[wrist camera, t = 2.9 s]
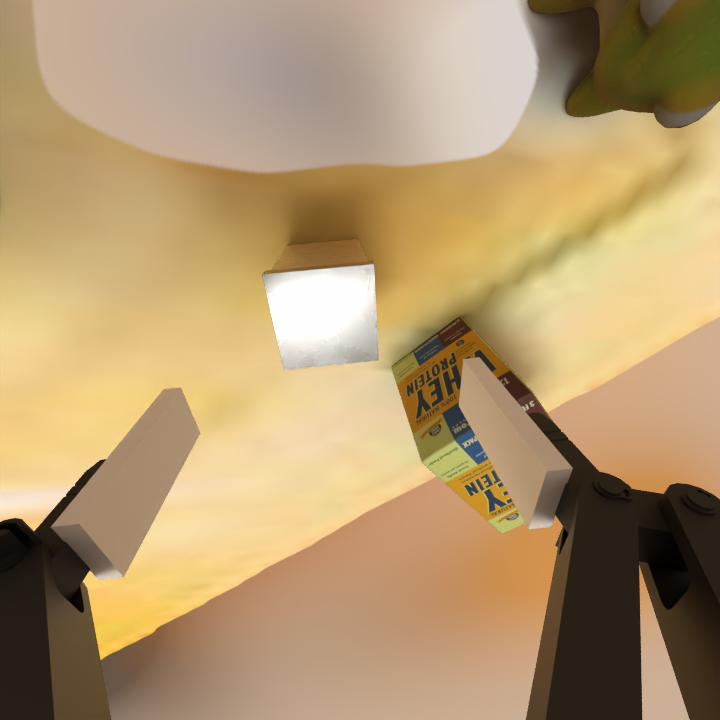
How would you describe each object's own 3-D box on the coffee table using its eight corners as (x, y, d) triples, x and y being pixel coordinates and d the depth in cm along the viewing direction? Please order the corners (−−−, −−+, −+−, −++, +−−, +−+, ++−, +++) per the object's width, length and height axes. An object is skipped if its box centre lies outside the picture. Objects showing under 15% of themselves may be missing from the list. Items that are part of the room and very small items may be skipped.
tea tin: (284, 243, 31) (262, 274, 21) (359, 236, 31) (374, 264, 21) (297, 313, 35) (283, 370, 24) (364, 306, 35) (378, 360, 25)
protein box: (459, 313, 37) (534, 391, 23) (517, 392, 43) (601, 488, 30) (388, 366, 39) (418, 463, 26) (452, 433, 46) (503, 538, 32)
